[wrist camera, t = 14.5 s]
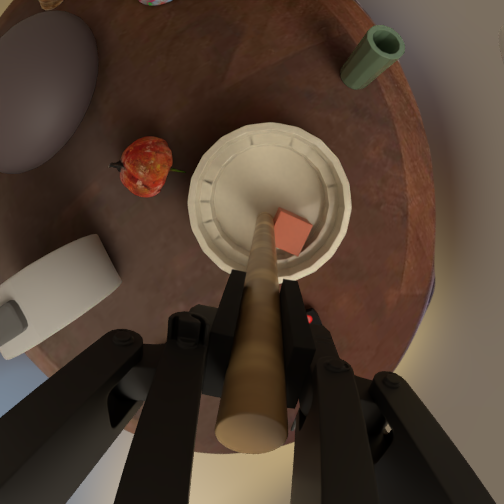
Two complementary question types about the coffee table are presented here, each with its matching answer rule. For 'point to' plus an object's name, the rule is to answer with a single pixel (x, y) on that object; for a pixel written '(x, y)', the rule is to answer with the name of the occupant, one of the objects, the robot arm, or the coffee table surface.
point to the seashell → (49, 4)
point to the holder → (372, 56)
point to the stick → (256, 357)
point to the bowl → (268, 195)
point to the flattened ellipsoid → (43, 87)
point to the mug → (154, 2)
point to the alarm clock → (53, 293)
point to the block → (290, 231)
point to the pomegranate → (145, 166)
